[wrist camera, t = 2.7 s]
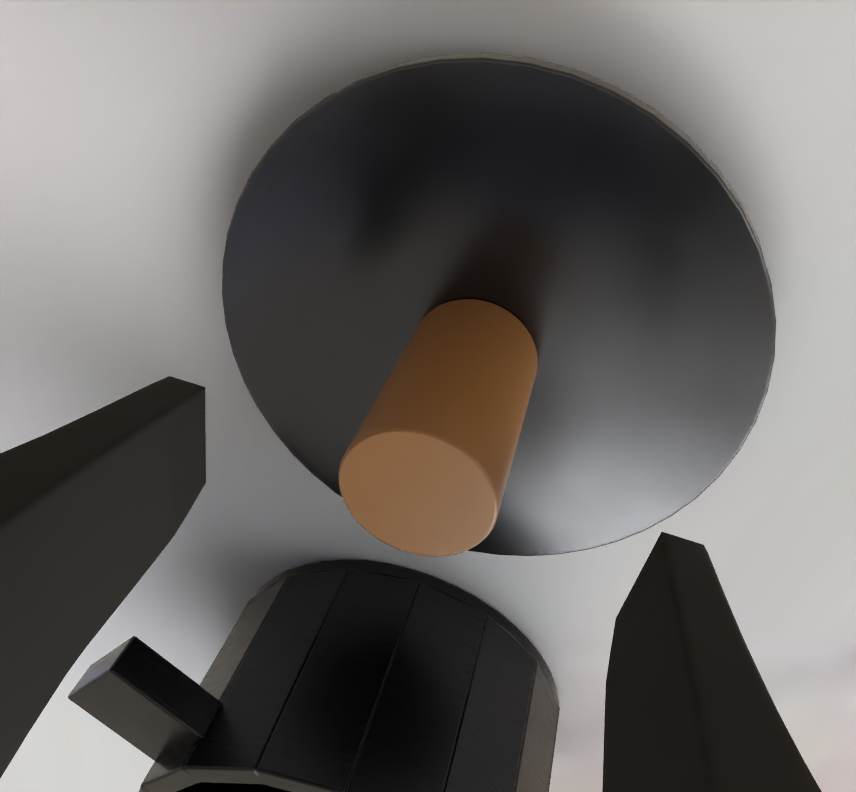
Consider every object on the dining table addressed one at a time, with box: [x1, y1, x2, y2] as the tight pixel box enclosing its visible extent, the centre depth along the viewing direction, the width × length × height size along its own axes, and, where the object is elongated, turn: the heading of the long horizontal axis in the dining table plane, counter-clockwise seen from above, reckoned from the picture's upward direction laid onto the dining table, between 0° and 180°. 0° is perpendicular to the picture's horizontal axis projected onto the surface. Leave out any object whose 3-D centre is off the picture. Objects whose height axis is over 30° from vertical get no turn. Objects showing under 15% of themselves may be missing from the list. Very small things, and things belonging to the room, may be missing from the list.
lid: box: [222, 53, 776, 556], centre depth 14 cm, size 11×11×6 cm
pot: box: [68, 560, 560, 792], centre depth 21 cm, size 10×16×6 cm, turn 45°
